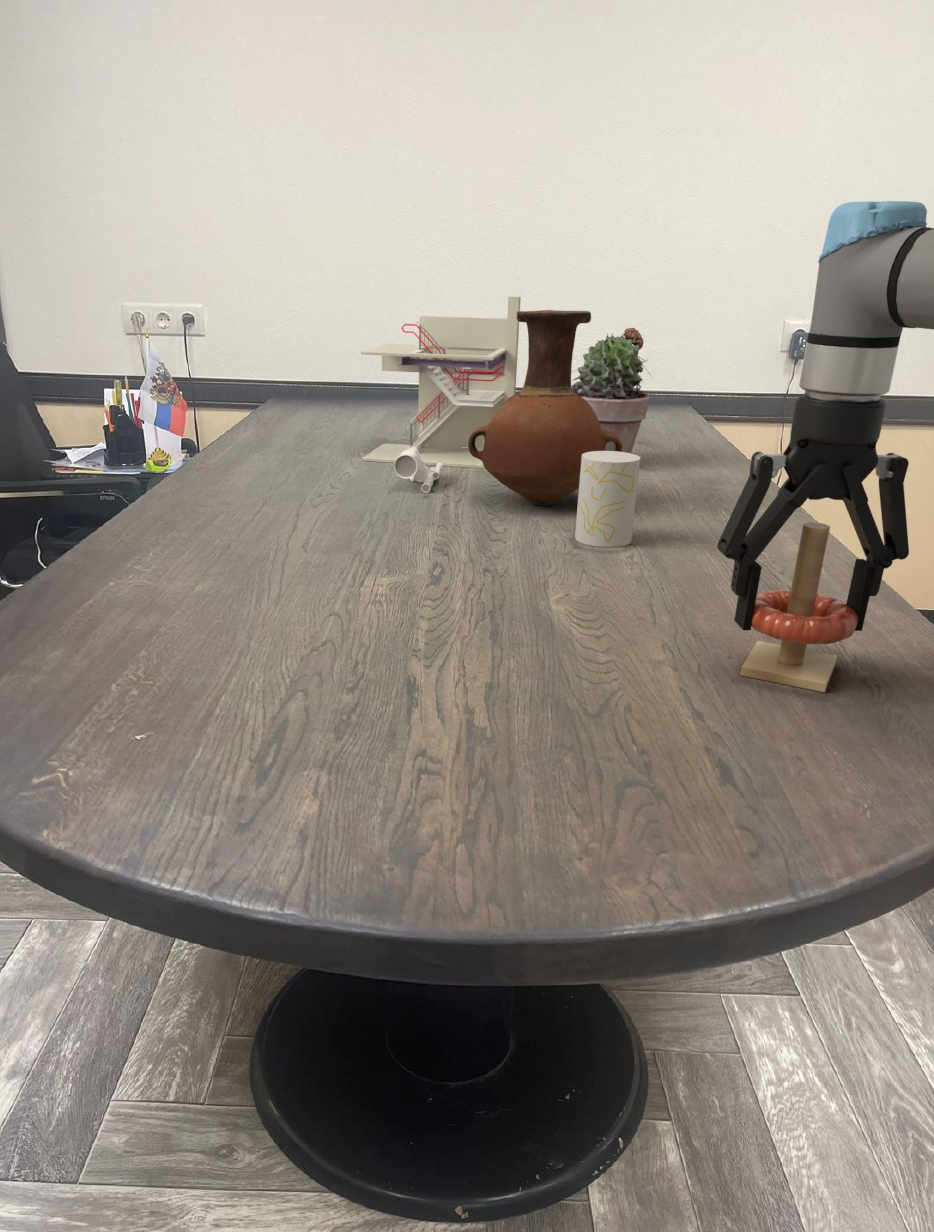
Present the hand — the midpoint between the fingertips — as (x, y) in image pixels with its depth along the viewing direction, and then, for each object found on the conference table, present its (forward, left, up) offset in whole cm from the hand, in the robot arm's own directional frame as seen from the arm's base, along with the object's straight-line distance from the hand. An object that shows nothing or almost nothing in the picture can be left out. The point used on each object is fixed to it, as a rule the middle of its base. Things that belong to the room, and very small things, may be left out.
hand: (797, 625), depth 94 cm
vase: (+48, -51, -5) cm, 70 cm away
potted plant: (+50, -87, -5) cm, 100 cm away
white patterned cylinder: (+32, -36, -5) cm, 48 cm away
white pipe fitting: (+72, -53, -5) cm, 90 cm away
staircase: (+80, -75, -5) cm, 110 cm away
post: (0, 0, -5) cm, 5 cm away
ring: (0, 0, +1) cm, 1 cm away
